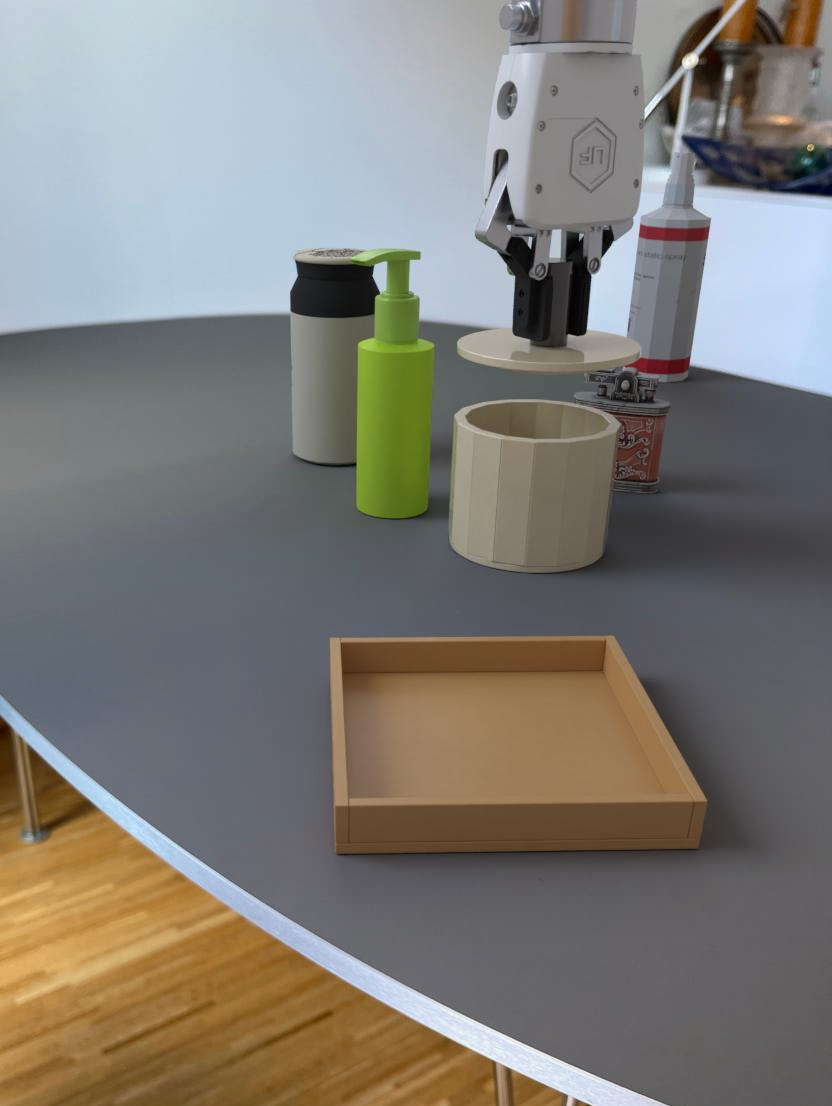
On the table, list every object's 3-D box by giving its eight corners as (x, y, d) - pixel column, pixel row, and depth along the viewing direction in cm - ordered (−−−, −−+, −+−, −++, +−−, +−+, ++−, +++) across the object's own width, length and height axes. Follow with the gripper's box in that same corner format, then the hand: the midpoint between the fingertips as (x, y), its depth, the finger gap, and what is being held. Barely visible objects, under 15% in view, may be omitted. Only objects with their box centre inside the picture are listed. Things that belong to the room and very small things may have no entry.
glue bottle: (610, 374, 132) (635, 151, 121) (645, 365, 136) (673, 150, 125) (664, 385, 127) (696, 154, 115) (699, 376, 131) (733, 152, 120)
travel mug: (393, 451, 102) (398, 251, 94) (345, 472, 96) (347, 261, 88) (325, 437, 106) (324, 245, 97) (275, 457, 100) (270, 253, 92)
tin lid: (613, 342, 80) (623, 247, 77) (663, 380, 69) (676, 271, 66) (446, 344, 80) (449, 249, 77) (468, 383, 69) (473, 274, 66)
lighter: (661, 484, 93) (677, 369, 89) (653, 496, 90) (670, 377, 86) (570, 472, 96) (582, 360, 92) (560, 482, 93) (572, 367, 89)
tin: (584, 516, 86) (597, 399, 82) (621, 572, 76) (639, 441, 71) (441, 516, 86) (446, 399, 81) (458, 573, 75) (466, 442, 71)
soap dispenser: (331, 507, 87) (331, 248, 78) (394, 490, 91) (401, 242, 82) (379, 526, 83) (384, 256, 74) (442, 508, 87) (455, 249, 78)
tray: (608, 675, 62) (614, 635, 61) (699, 849, 47) (708, 801, 46) (329, 677, 61) (329, 637, 60) (334, 854, 47) (334, 805, 46)
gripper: (507, 20, 59) (490, 359, 67) (710, 29, 66) (673, 331, 75) (428, 29, 64) (421, 339, 73) (623, 35, 72) (597, 316, 80)
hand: (549, 333), depth 74 cm, fingers closed on tin lid, 2 cm apart
